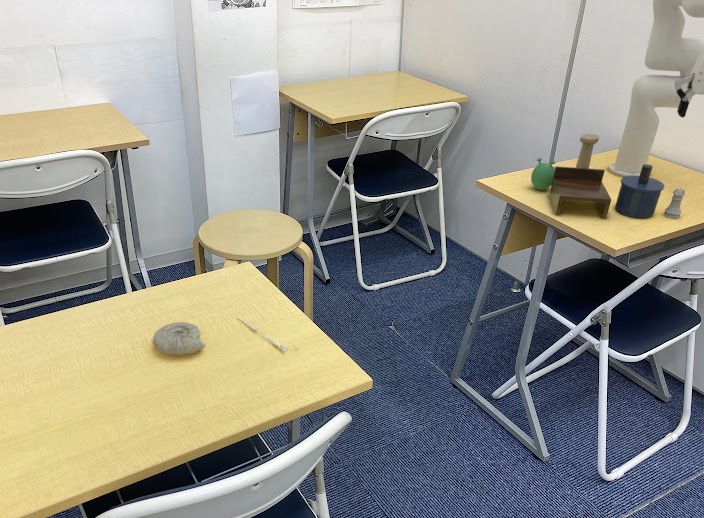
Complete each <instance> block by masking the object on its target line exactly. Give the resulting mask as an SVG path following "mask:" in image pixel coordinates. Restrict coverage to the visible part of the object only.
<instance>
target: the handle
mask: <svg viewBox="0 0 704 518" xmlns="http://www.w3.org/2000/svg"><path fill="white" fill-rule="evenodd" d="M599 139H600V136H599V135H598V134H594V133H585V134H581V135H580V138H579V142H580V143H582V144H581V149H580V151H579V155H578V158H577V162H576V165H575V168H589V169H590V166H591V160H592V154H593V150H594V145H595V144H597V143H598V142H599Z"/></svg>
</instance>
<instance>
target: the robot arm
mask: <svg viewBox="0 0 704 518" xmlns="http://www.w3.org/2000/svg"><path fill="white" fill-rule="evenodd" d="M681 8H682V9H683V11H684V12H685V13H686V14H687V15H688V16H689V17H692V18H696V19H697V18H701V19H702V18H703V19H704V0H652V11H653V22H652V27H651V31H650V35H649V39H648V42H647V48H646V51H645V55H644V56H645V57H644V66H645V67H646V68H647V69H648V70H652V71H662V72H663V71H664V72H666V71H667V72H678V73H679V75H668V74H646V75H645V74H644V75H641V76H640V77H638V78H637V79H635V80H634V82H633V84H632V88H631V94H630V104H629V109H628V114H627V118H626V122H625V126H624V129H623V132H622V137H621V140H620V144H619V146H618V151H617V155H616V159H615V162H613V163H610V164H609V166H608V170H609V172H611V173H612V174H614V175H617V176H620V177H626V176H640V173H641V169H642V166H643V165H645V164H646V165H648V162H649V158H650V155H651V151H652V149H653V144H654V141H655V138H656V135H657V131H658V128H659V125H660V117H659V115H658V114H657V112H656V110H655V109H656V108H671V109H677V111H676V112H677V114H678V116H679V117H680V118H685V117H686V115H687V114H686V113H687V111H688V110H689V109H688V108H689V105H690V103H691V102H692V101H693V100H692V99H693V97H694V96H695V95H704V42H703V41H702V39H699V38H692V37H691V38H689V37H683V33H684V28H685V24H686V18H685V15H684V13H683V12H682V9H681Z"/></svg>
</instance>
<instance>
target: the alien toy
mask: <svg viewBox="0 0 704 518" xmlns="http://www.w3.org/2000/svg"><path fill="white" fill-rule="evenodd" d="M542 160H543V158H541V157H538V158H536V161H537V162H538V164H537V165H536V166H535V167H534V168H533V170H532V172H531V175H530V181H531V184H532V186H533V187H534V189H536V190H538V191H546V190H547V189H550V188H551V185H552V180H553V176H554V171H555V167H556V166H553V165H555V164H556V161H555V160H550V163H548V162H542V163H541V161H542Z"/></svg>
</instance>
